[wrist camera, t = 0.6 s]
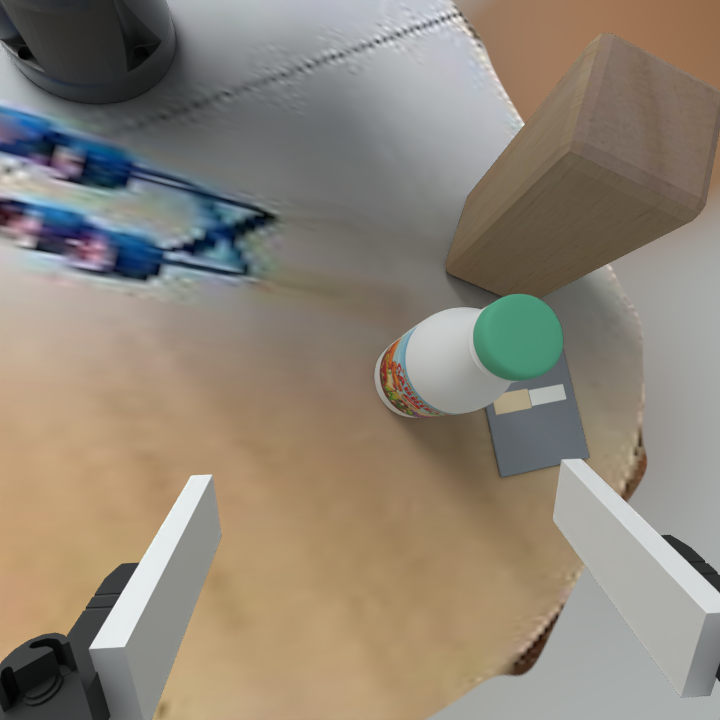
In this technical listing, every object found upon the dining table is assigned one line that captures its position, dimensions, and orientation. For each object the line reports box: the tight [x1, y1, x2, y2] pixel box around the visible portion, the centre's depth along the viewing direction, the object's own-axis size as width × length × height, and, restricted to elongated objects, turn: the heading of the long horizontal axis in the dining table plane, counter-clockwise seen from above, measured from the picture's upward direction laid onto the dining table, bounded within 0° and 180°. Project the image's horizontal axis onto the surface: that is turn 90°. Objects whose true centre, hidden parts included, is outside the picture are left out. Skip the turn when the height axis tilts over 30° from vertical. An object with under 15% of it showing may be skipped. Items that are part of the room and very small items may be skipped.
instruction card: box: [485, 348, 589, 478], centre depth 43 cm, size 14×10×1 cm
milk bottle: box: [374, 294, 563, 418], centre depth 31 cm, size 8×8×20 cm
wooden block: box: [446, 33, 720, 299], centre depth 35 cm, size 10×10×20 cm
